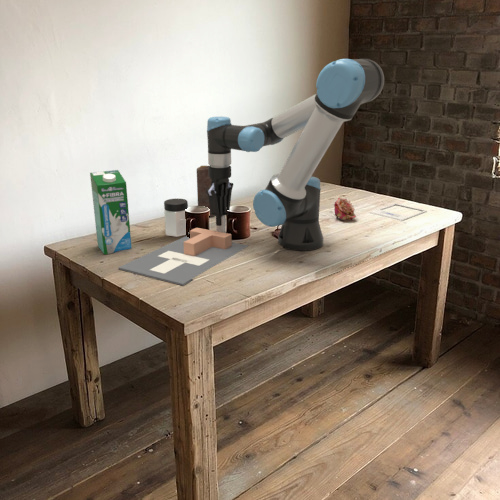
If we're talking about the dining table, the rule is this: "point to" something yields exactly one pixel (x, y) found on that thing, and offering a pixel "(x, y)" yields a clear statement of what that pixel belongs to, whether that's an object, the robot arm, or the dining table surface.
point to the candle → (203, 187)
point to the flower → (344, 209)
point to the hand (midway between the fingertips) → (221, 233)
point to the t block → (206, 241)
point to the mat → (179, 262)
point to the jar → (175, 217)
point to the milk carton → (111, 211)
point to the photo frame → (393, 215)
